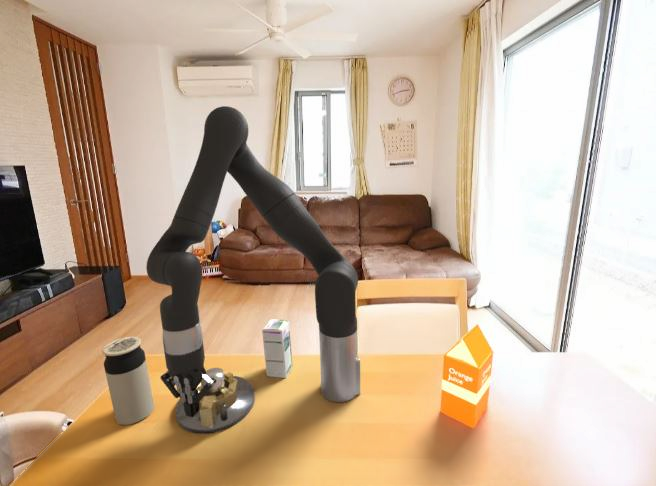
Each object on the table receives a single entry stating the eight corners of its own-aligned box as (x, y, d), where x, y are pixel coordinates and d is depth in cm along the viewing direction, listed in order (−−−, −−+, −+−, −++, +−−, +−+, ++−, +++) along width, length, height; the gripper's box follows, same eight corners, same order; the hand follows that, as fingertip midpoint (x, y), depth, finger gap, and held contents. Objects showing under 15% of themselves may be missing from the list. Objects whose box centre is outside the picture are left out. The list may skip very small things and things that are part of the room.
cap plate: (253, 375, 91) (251, 347, 89) (255, 424, 74) (252, 391, 72) (183, 387, 87) (179, 358, 85) (168, 442, 70) (162, 407, 68)
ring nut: (199, 386, 85) (197, 371, 84) (240, 382, 86) (238, 367, 85) (183, 429, 71) (180, 411, 70) (231, 424, 72) (229, 406, 71)
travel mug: (161, 406, 81) (150, 339, 76) (130, 430, 74) (116, 358, 69) (139, 397, 84) (127, 333, 80) (108, 419, 77) (92, 350, 73)
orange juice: (488, 406, 78) (496, 328, 73) (474, 429, 71) (482, 345, 67) (455, 391, 83) (460, 318, 78) (439, 411, 77) (444, 332, 72)
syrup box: (286, 378, 90) (283, 329, 86) (265, 376, 91) (261, 328, 87) (292, 366, 95) (290, 319, 91) (273, 364, 96) (269, 318, 93)
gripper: (143, 348, 68) (155, 420, 72) (199, 358, 64) (207, 433, 68) (170, 330, 75) (179, 397, 79) (221, 338, 71) (228, 408, 75)
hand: (192, 414), depth 73 cm, fingers closed
